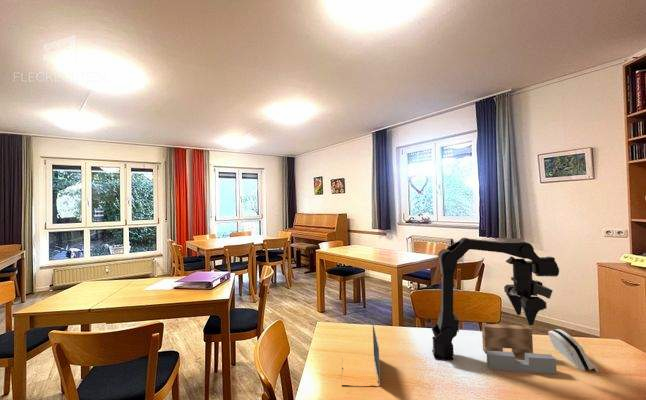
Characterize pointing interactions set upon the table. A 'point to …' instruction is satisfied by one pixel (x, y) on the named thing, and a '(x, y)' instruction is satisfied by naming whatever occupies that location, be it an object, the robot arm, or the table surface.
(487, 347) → the walnut slat
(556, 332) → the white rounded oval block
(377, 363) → the laptop
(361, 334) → the table surface
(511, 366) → the notched gray bar
